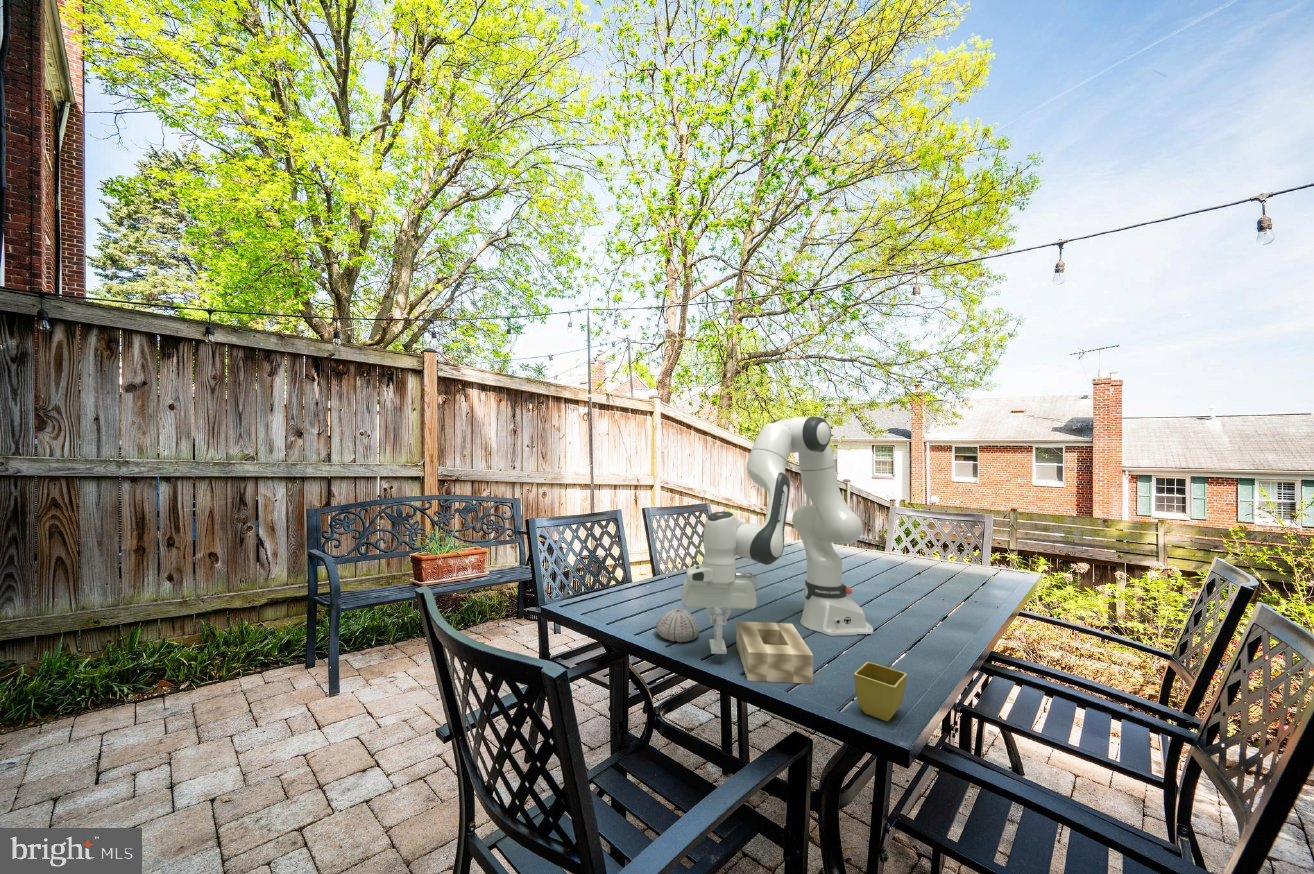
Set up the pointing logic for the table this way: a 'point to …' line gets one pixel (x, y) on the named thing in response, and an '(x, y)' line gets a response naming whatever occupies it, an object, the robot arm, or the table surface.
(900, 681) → the flower pot
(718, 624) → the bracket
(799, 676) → the well block
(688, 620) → the sea urchin shell
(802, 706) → the table surface
